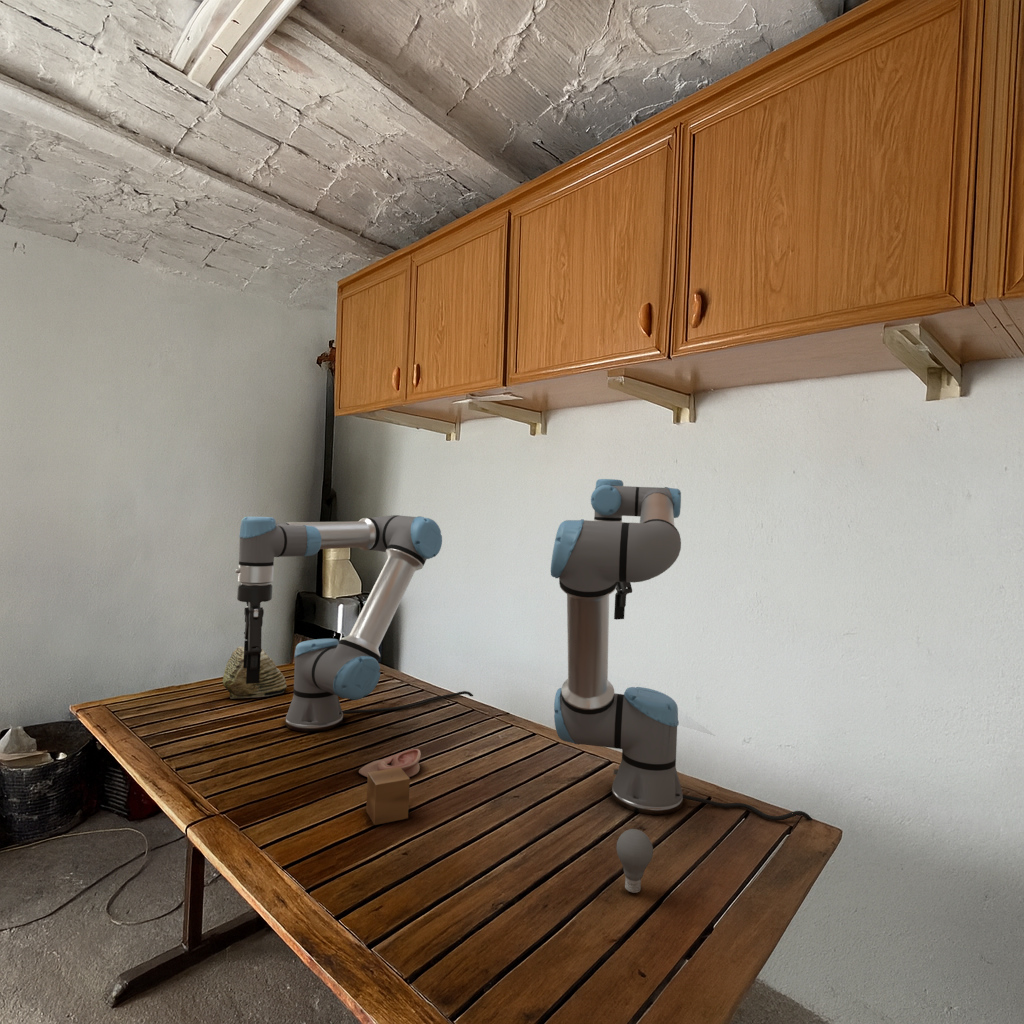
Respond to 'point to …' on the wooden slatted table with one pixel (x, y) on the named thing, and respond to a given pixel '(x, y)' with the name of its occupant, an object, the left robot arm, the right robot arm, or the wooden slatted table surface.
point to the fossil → (267, 685)
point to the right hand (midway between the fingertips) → (603, 614)
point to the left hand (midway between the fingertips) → (250, 675)
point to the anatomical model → (396, 763)
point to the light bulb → (634, 857)
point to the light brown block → (387, 795)
